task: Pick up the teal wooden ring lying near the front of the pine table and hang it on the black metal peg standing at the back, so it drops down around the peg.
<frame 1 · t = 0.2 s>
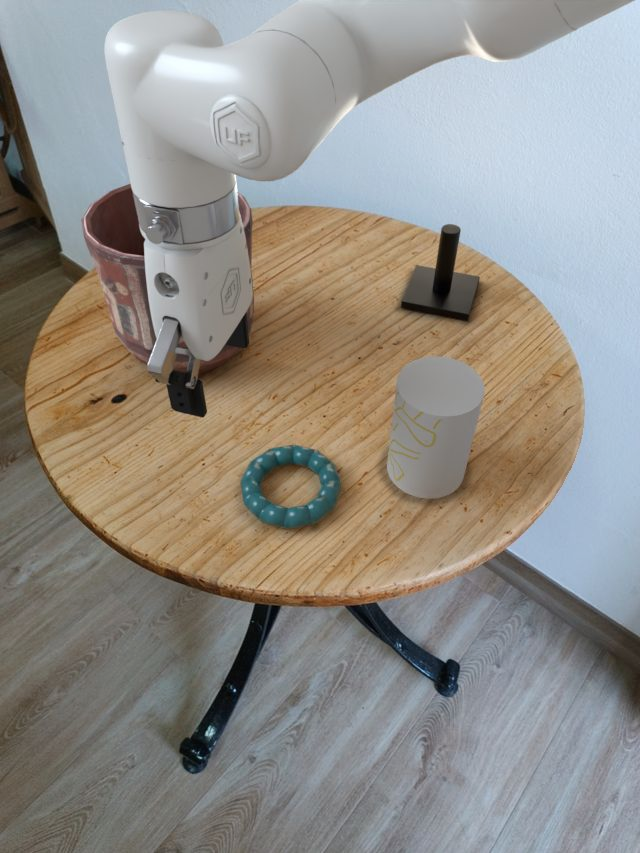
hand: (212, 376, 64), 13 cm above the table, tool pointing down, fingers open, 9 cm apart
peg stand: (440, 295, 94), on the table
pottery: (189, 345, 87), on the table
grey cylinder: (425, 469, 73), on the table
ring: (291, 485, 70), point 1 cm above the table
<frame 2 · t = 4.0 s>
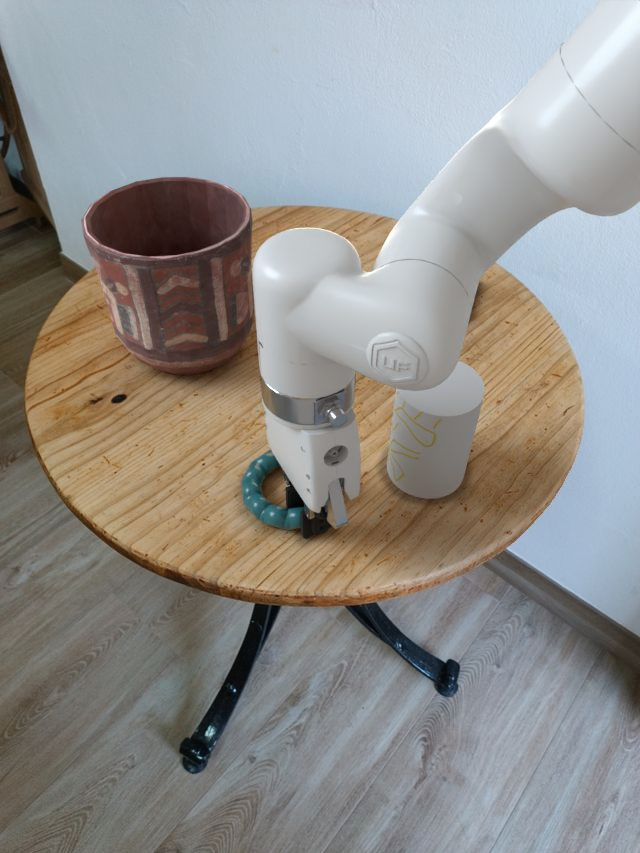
hand: (309, 518, 68), 0 cm above the table, tool pointing down, fingers closed on ring, 2 cm apart
ring: (291, 485, 70), point 1 cm above the table, touching gripper
everything else where it was.
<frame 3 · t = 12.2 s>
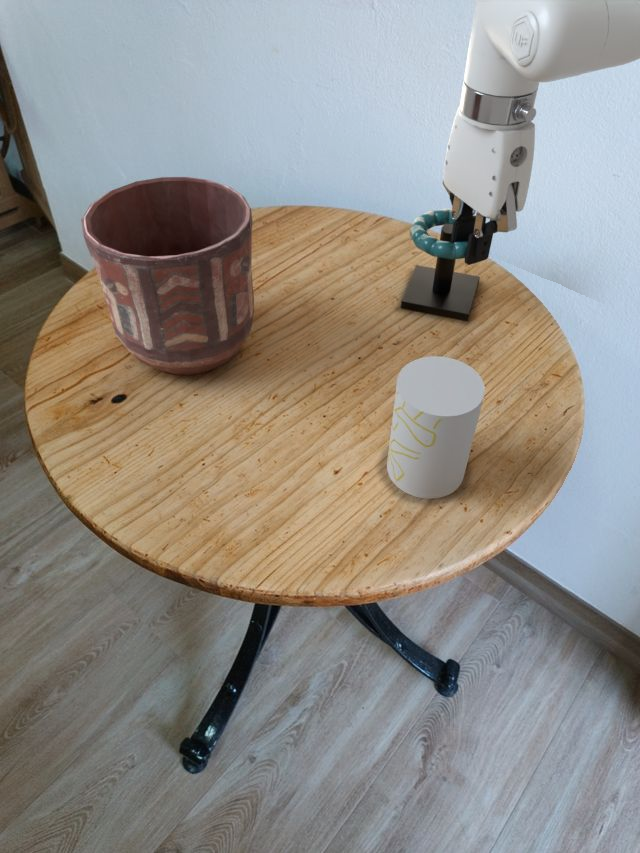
hand: (468, 253, 85), 9 cm above the table, tool pointing down, fingers closed on ring, 2 cm apart
ring: (450, 233, 87), point 10 cm above the table, touching gripper
everything else where it was.
when the fingers open (12 cm above the table, at t = 18.4 s): ring drops 10 cm, resting on peg stand.
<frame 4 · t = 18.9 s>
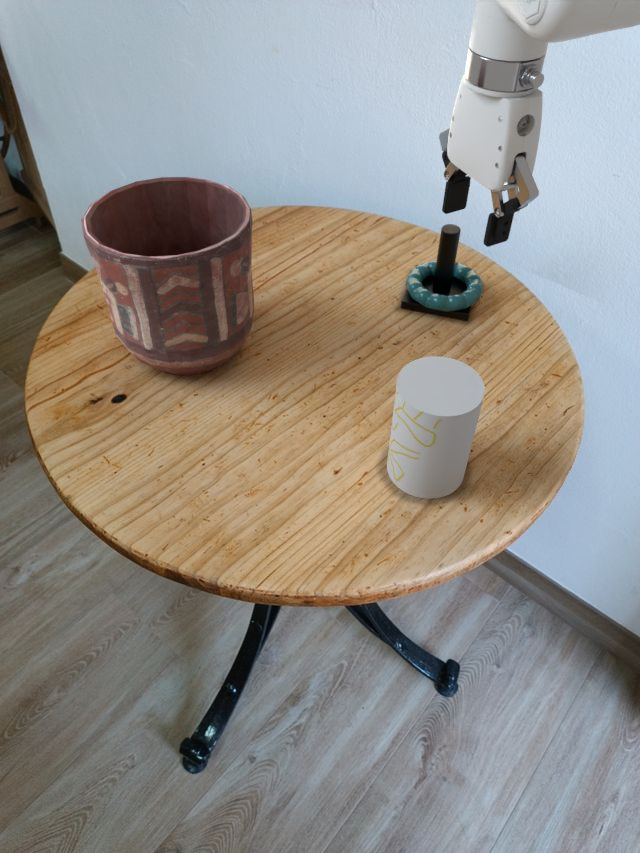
hand: (474, 225, 82), 13 cm above the table, tool pointing down, fingers open, 7 cm apart
ring: (444, 285, 92), point 2 cm above the table, touching peg stand
everything else where it was.
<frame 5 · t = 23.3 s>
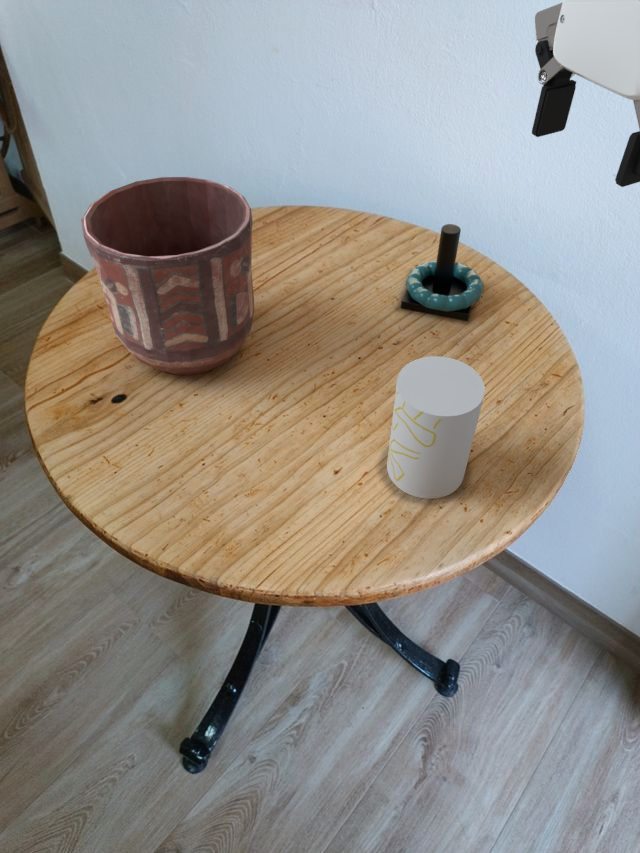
hand: (587, 156, 56), 30 cm above the table, tool pointing down, fingers open, 9 cm apart
nothing on the table moved.
at the end: ring 0.6 cm from the peg stand (horizontally); ring point 2.2 cm above the table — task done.
